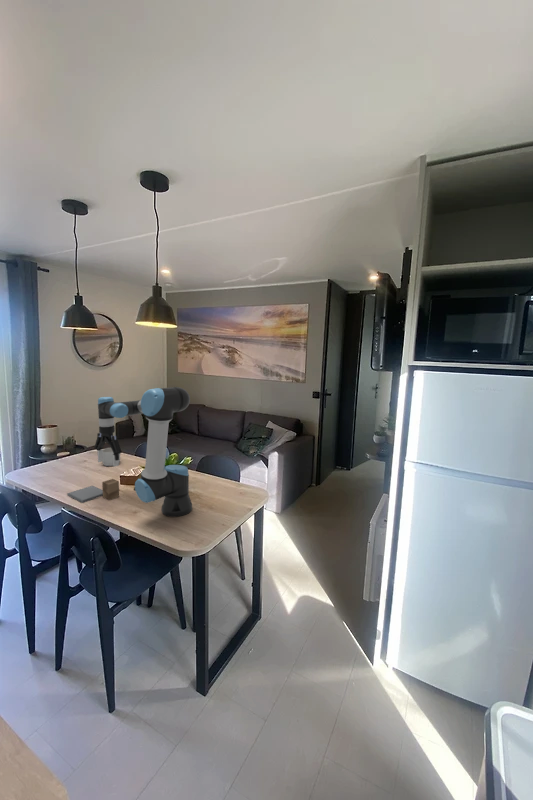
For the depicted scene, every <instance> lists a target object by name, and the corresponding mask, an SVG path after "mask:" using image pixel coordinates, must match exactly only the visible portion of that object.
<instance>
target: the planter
mask: <svg viewBox="0 0 533 800" xmlns="http://www.w3.org/2000/svg"><path fill="white" fill-rule="evenodd" d="M102 450H103V461H102V465H103V466H104V467H114V466H113V454H114V453H113V451H112V449H111V447H106V448H103V449H102ZM120 462H121V453H120V454H119V463H120Z"/></svg>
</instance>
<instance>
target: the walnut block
mask: <svg viewBox="0 0 533 800" xmlns="http://www.w3.org/2000/svg"><path fill="white" fill-rule="evenodd" d="M101 484H102V485H101V487H102V488H101V489H102V490H103V496H102V498H103V499H106V500H107V501H111V500H114V499H117V498H119V497H120V480H117V479H114V478H111V479H108V480H104V481H102V482H101Z"/></svg>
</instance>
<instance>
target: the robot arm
mask: <svg viewBox="0 0 533 800" xmlns="http://www.w3.org/2000/svg"><path fill="white" fill-rule="evenodd" d="M190 403H191V396H190V394H189V392H188V391H187V390H186V389H185V388H183V387H179V386H176V387H175V386H174V387H173V386H172V387H155V388H150V389H147V390H146V391H144V393H143V394H142V396H141V399H139V400H129V401H119V402H115V401H114V398H113V396H101V397H99V398H98V399H97V410H98V413H97V415H98V433H97V435H96V440H95V444H94V449H96V451H97V453H96V454H97V462H98V463H101V462H102V461H103V449H104V446H105V444H108V445H109V446H110V447H109V448H111V449H112V451H113V453H114V454H113V466H112V467H115V468H116V467H118V466H119V465H120V462H119V454H120V455H121V454H122V453H123V451H122V449H121V446H120V442H119V440H118V439H119V438H118V435H114V433H115V429H116V428H115V418H116V419H122V418H124V417H127V416H128V417H129V416H135V415H136V416H137V415H144V416H145V419H146V420H147V421H148V429H147V441H146V442H147V443H146V453H145V465H144V469H143V470H142V471H141V473H140V474H141V479H138V478H137V480H136V481H135V482H134V487H135V490H134V491H135V493H136V495H137V498H138V499H139V500H140V501H141V502H143V503H146V504H148V503H151V502H155V501H157V500H158V499H161V498H164V499H163V503H162V505H161V513H162V514H163V515H164V516H166V517H170V518H171V517H172V518H174V517H176V518H177V517H183V516H185V515H187V514H189V513H190V512H192V510H193V503H192V500H191V497H190V494H189V492H190V491H189V489H190V488H189V487H190V485H189V484H190V482H189V481H190V479H189V478H190V475H189V469H188V467H187V466H185V465H180V464H169V465H165V464H166V455H167V446H168V445H167V444H168V435H169V434H168V433H169V425H170V424H169V423H170V422H171V421H172V420H173V419H174V418H173V417H174V413H178V412H182V411H185V410H186V409H187V408H188V407H189V405H190Z"/></svg>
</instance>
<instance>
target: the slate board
mask: <svg viewBox="0 0 533 800" xmlns="http://www.w3.org/2000/svg"><path fill="white" fill-rule="evenodd" d="M66 496H67V497H70V498H72V499H73V500H75V501H77V502H79V503H81V504H84V503H87V502H89V501H92V500H95V499H97V498H101V497H103V489H102V488H98V487H97V486H94V485H90V486H89V485H88V486H87V487H83V488H80V489H77V490H76V489H75V490H74V491H70V492H67V493H66Z"/></svg>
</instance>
